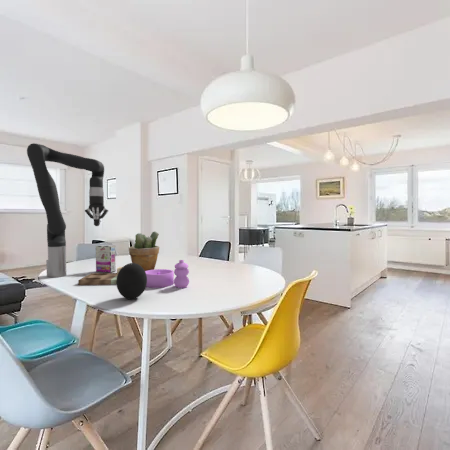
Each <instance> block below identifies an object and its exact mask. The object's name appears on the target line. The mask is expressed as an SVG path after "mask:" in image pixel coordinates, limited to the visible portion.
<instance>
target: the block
mask: <svg viewBox="0 0 450 450" xmlns="http://www.w3.org/2000/svg"><path fill="white" fill-rule="evenodd" d="M122 267H123V266H118V267H117V268H116V273H117V276H118V273H119V271H120V270H121V268H122Z"/></svg>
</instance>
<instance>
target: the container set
mask: <svg viewBox="0 0 450 450" xmlns="http://www.w3.org/2000/svg"><path fill="white" fill-rule="evenodd" d="M184 261H185V260H184V259H179V260H178V263H176V264H174V268H175V269H173V270H172V269H164V268H161V269H160V268H159V269H155V268H154V270H148V271H145V272H146V275H147V285H146V288H150V287H151V288H152V289H153V288H154V289H155V288H156V289H158V288H166V287H167V288H168V287H171V286H173V285H175V287H176V288H179V289H181V288H182V289H183V288H187V287H188V286H189V283H190V279H189V276H188V275H189V274H190V270H189V264H188V263H186V262H184ZM174 275H175V278H174Z"/></svg>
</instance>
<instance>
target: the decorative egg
mask: <svg viewBox="0 0 450 450" xmlns="http://www.w3.org/2000/svg"><path fill="white" fill-rule="evenodd" d="M121 267H122V268H121V270H120V271H119V273H118V276H117V281H116V284H115V285H116V288H117V291H118V293H119V294H120V295H121V296H122V297H123V298H125V299H128V300H134V299H137V298H139V297H140V296H141V295H143V293H144V292H145V290H146V288H147V287H146V285H147V275H146V272H145V270H144V269H143V268H142V267H141V266H140V265H139V264H136V263H132V262H130V263H127V264H125V265H123V266H121Z"/></svg>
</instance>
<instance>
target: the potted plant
mask: <svg viewBox="0 0 450 450" xmlns="http://www.w3.org/2000/svg"><path fill="white" fill-rule="evenodd" d="M158 237H159V232H157V231H152V232H151V235H150V236H146V234H142V233H140V232H138V233H137V234H135V240H134V244H133V246H129V247H128V254H129V255H130V261H131V263H136V264H139V265H140V266H141V267H142V268H143V269H144V270H145V271H148V270H155V268H156V265H157V261H158V256H159V253H160V246H159V245H156V243H157V239H158Z"/></svg>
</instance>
